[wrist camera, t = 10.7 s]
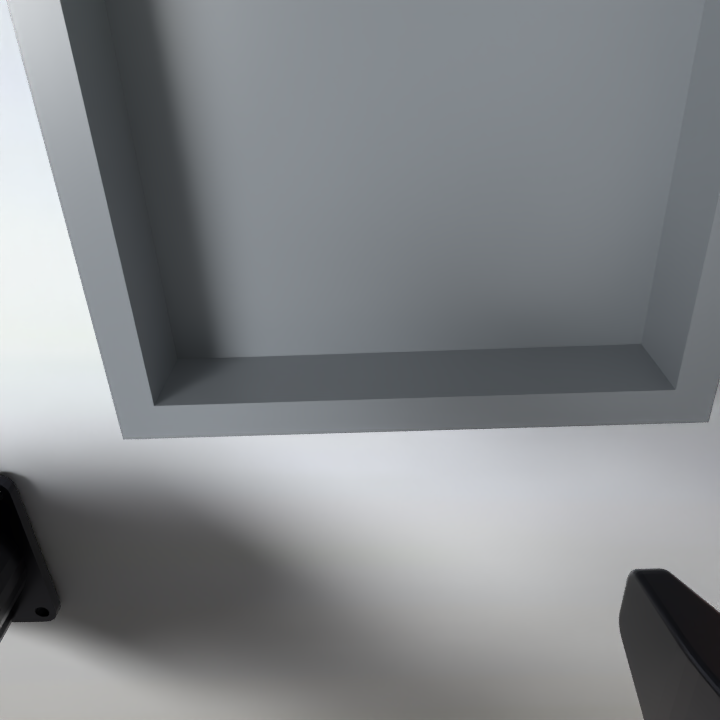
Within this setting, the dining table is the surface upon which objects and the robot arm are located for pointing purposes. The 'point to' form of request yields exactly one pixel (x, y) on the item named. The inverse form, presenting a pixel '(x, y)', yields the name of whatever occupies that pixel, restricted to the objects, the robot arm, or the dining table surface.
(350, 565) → the dining table surface
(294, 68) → the parts bin
